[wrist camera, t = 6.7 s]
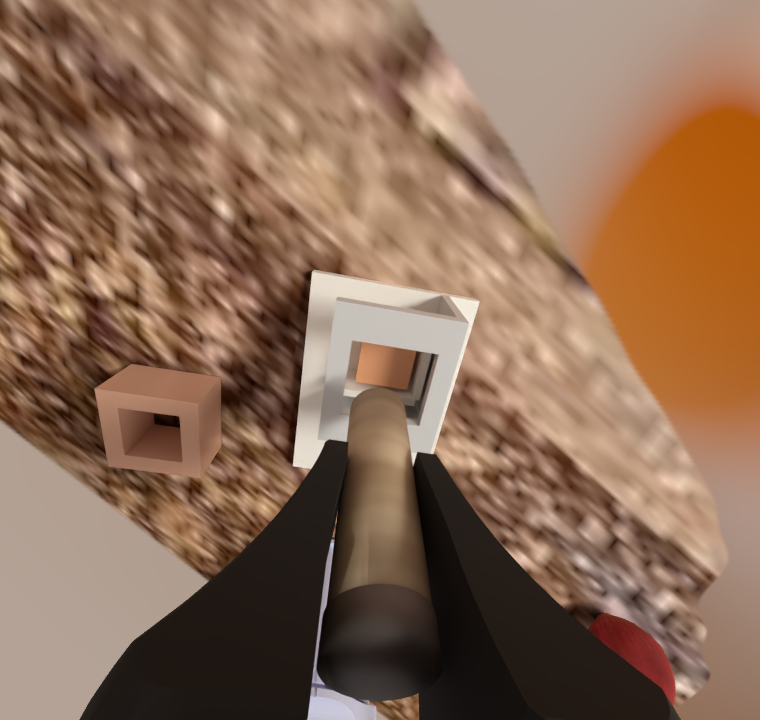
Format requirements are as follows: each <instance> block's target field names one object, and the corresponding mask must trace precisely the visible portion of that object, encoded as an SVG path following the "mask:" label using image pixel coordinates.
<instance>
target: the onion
mask: <svg viewBox="0 0 760 720" xmlns="http://www.w3.org/2000/svg"><path fill="white" fill-rule="evenodd" d="M588 630H589V631H590V632H591V633H592V634H594V635H595V636H596V637H597V638H598V639H599V640H601V641H602V642H603V643H604V644H605V645H607V646H608V647H609V648H610V649H612V650H613V651H614V652H616V653H617V654H618V655H619V656H621V657H622V658H623V659H625V660H626V661H627V662H628V663H630V664H631V665H632V666H634V667H635V668H636V669H637V670H639V671H640V672H641V673H643V674H644V675H645V676H647V677H648V678H649V679H650V680H652V681H653V682H654V683H656V684H657V685H658V686H659V687H661V688H662V689H663V691H664V693H665V694H666V696H667V697H668V699H669V700H670V702H671V704H672V706H673V705H674V701H675V679H674V675H673V672H672V669H671V666H670V664H669V661H668V659H667V657H666V655H665V653H664V651H663V650H662V648H661V646H660V645H659V644H658V643H657V642H656V641H655V639H654V638H653V637H652V636H651V635H649V634H648V633H647V632H645V631H644V630H642V629H641V628H639V627H638V626H637V625H635V624H634V623H632V622H630V621H628V620H625V619H623V618H619V617H616V616H613V615H610V614H608V613H600V614H599V615H598V616H597V618H596V619H595V621H594V622H593V624H592V625H591V626H590V628H589V629H588Z"/></svg>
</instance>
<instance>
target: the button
mask: <svg viewBox="0 0 760 720" xmlns="http://www.w3.org/2000/svg"><path fill="white" fill-rule="evenodd" d="M415 355H416V351H414V350H408V349H402V348H396V347H390V346H384V345H378V344H372V343H366V342H361V346H360V352H359V358H358V364H357V372H356V380H355V382H359V383H366V384H372V385H379V386H385V387H392V388H398V389H405V390H407V388H408V384H409V380H410V376H411V372H412V368H413V364H414V359H415Z"/></svg>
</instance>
